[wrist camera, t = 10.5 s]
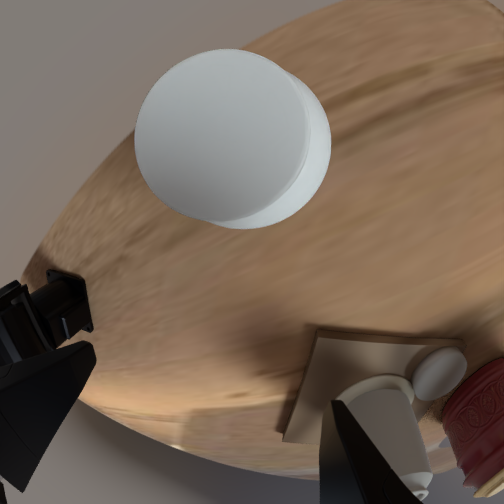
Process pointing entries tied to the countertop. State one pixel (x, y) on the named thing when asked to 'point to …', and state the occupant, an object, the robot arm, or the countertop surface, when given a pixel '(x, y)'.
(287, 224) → the countertop surface
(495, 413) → the canister
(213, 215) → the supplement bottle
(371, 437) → the can
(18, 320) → the robot arm
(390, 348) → the board
